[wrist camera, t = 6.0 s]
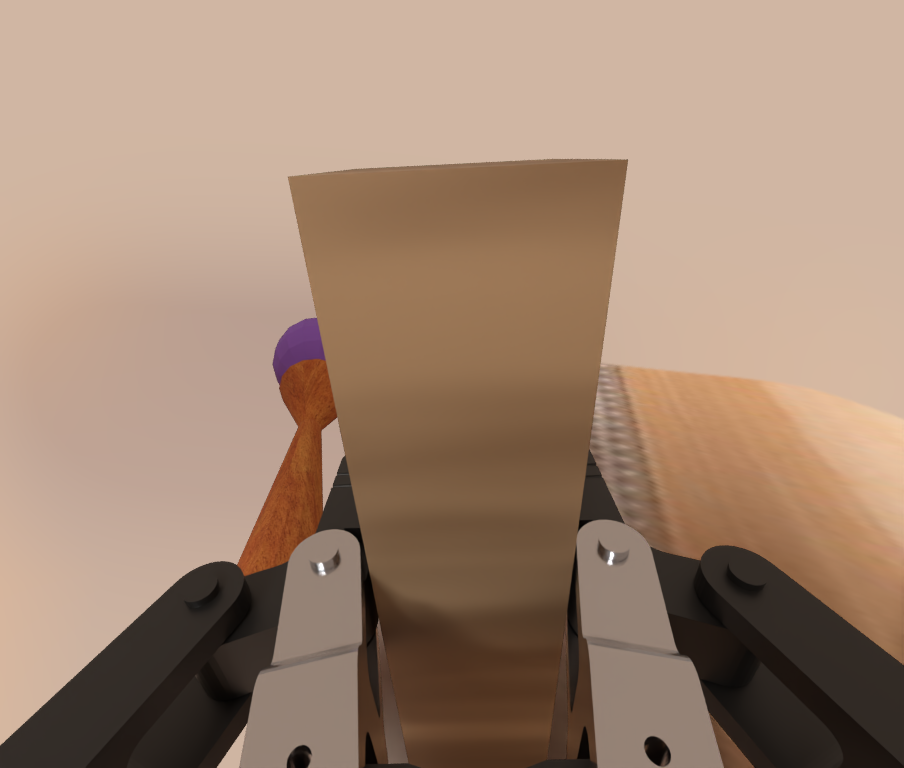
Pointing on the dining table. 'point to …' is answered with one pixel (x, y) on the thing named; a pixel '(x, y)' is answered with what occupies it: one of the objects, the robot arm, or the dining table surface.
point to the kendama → (295, 451)
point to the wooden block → (466, 422)
